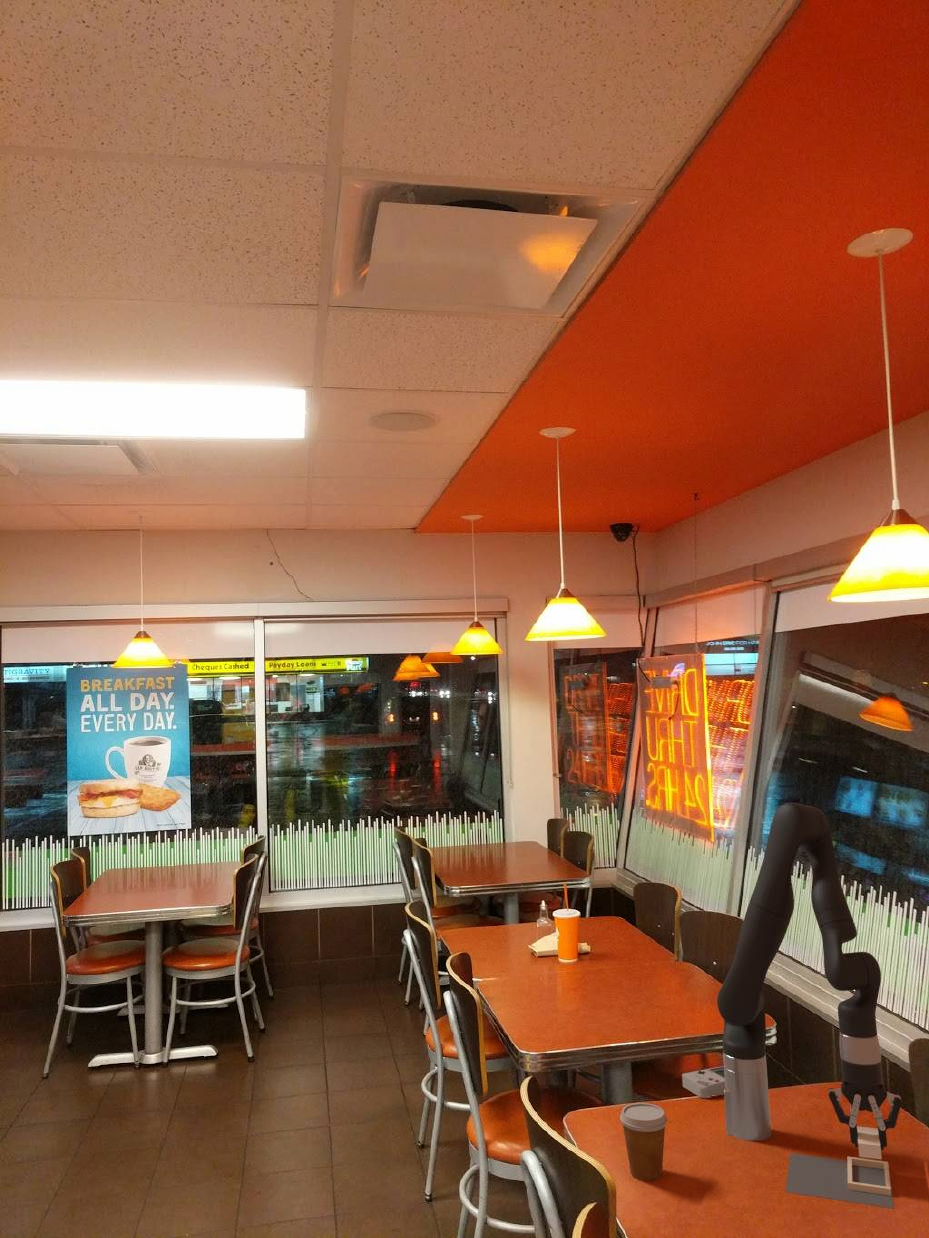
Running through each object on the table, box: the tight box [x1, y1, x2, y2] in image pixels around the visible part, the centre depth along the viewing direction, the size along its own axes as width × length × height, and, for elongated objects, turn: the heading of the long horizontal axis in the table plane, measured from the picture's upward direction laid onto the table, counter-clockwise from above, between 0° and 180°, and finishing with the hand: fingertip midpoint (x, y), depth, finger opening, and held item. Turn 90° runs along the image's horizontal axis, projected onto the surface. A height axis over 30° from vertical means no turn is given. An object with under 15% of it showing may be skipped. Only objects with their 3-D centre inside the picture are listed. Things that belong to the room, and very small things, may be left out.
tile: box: [857, 1125, 882, 1160], centre depth 180 cm, size 8×4×2 cm, turn 159°
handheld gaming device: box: [681, 1065, 725, 1099], centre depth 228 cm, size 9×15×4 cm, turn 110°
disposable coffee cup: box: [619, 1102, 668, 1182], centre depth 186 cm, size 10×10×12 cm
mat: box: [785, 1152, 895, 1210], centre depth 180 cm, size 19×17×2 cm
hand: (869, 1146), depth 180 cm, fingers closed on tile, 4 cm apart
